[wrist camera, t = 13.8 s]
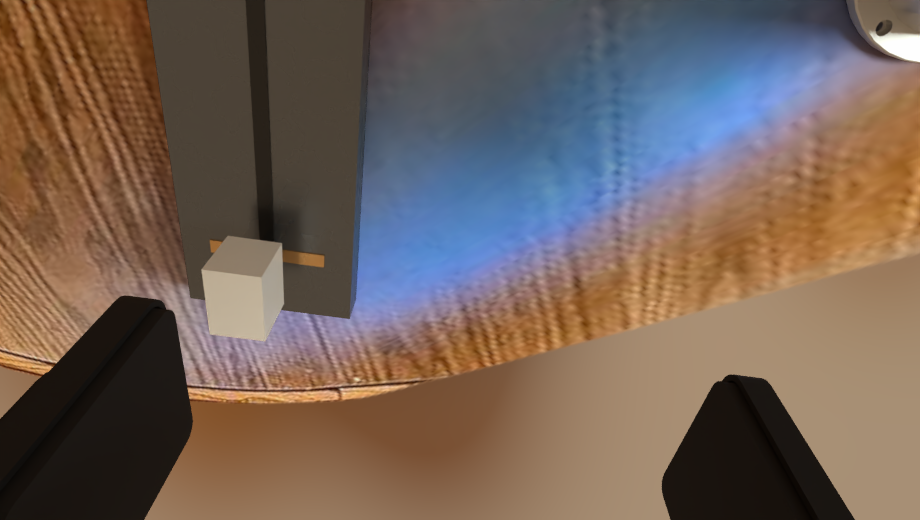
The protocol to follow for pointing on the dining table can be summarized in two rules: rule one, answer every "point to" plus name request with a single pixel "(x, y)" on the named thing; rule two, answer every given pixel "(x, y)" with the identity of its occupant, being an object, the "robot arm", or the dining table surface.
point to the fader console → (268, 134)
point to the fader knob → (244, 288)
